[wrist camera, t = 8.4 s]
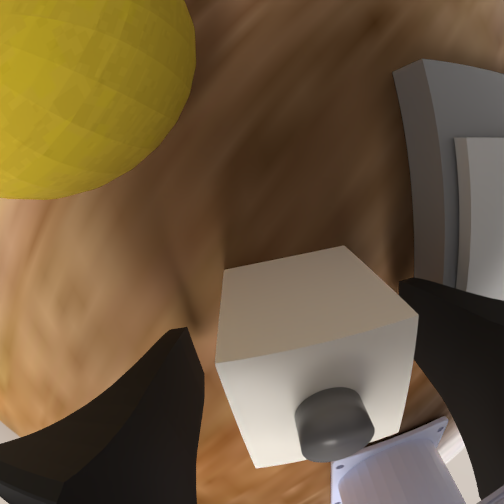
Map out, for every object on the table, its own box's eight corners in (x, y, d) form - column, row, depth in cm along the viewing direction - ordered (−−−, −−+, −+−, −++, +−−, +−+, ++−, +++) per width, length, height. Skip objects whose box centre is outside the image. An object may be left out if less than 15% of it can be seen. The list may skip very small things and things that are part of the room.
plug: (349, 342, 11) (410, 456, 6) (248, 364, 11) (257, 496, 6) (343, 245, 10) (443, 340, 4) (223, 269, 10) (211, 400, 4)
